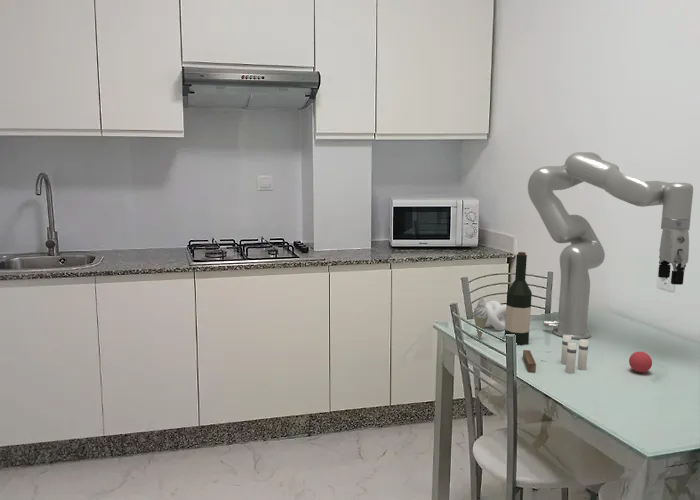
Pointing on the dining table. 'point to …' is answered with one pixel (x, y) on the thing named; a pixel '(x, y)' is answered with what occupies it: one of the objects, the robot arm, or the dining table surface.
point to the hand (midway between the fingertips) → (670, 280)
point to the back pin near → (571, 357)
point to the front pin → (582, 354)
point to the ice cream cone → (480, 316)
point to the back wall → (529, 361)
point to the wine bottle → (519, 303)
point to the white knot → (496, 315)
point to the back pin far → (565, 348)
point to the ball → (640, 362)
